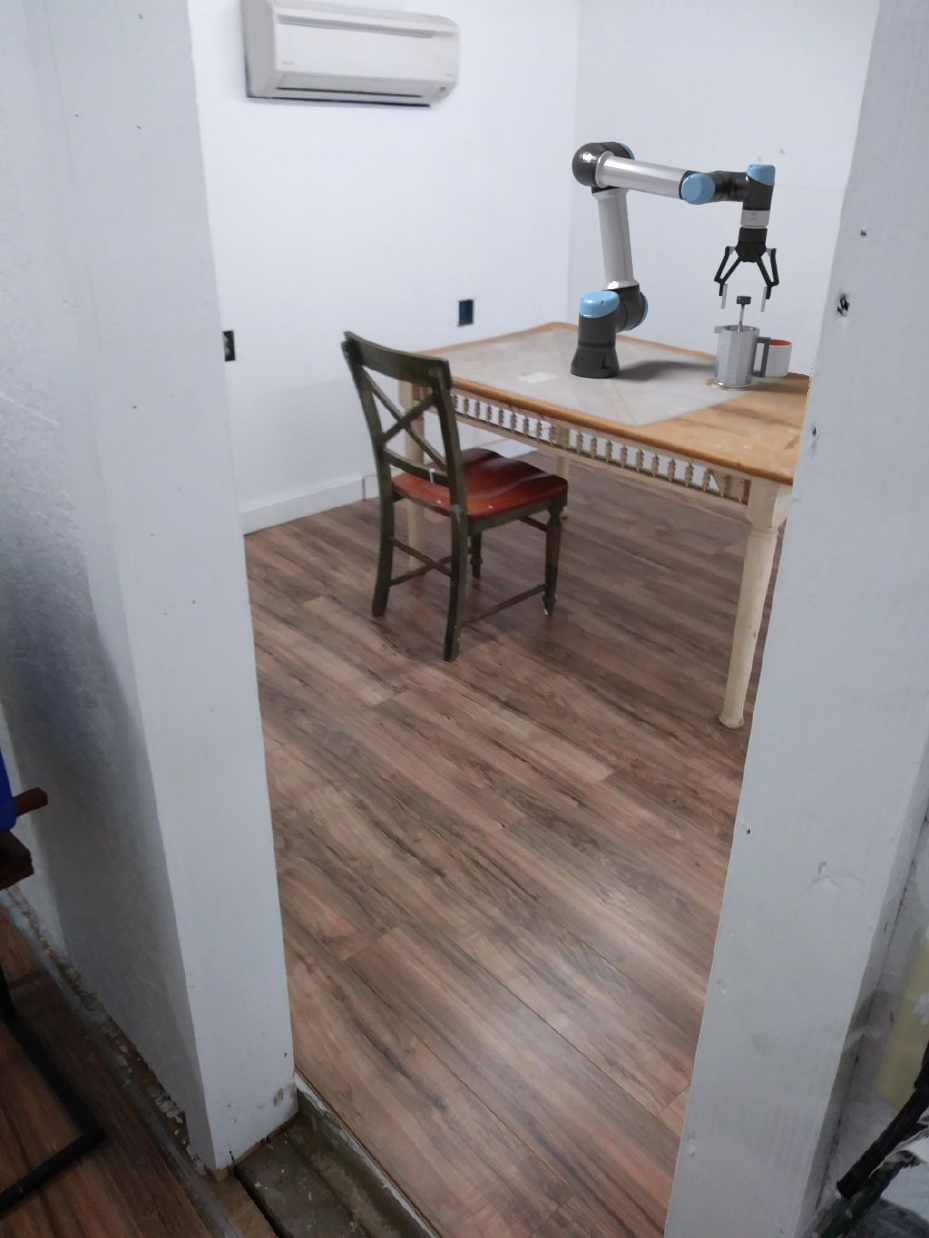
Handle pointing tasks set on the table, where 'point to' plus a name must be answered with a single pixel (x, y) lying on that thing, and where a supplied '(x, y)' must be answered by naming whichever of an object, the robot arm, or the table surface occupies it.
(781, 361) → the cup
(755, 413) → the table surface
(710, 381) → the trivet
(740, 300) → the plunger
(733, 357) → the carafe
